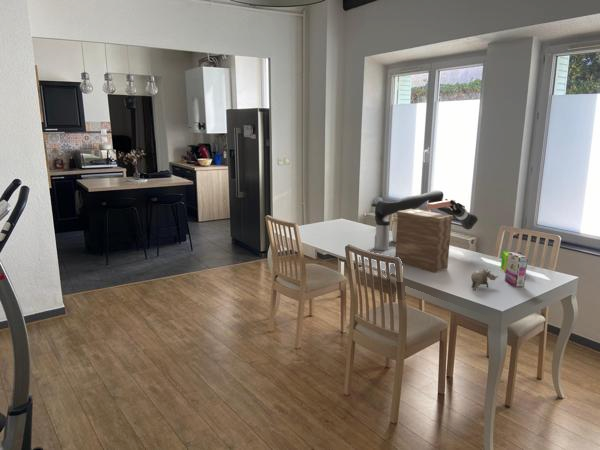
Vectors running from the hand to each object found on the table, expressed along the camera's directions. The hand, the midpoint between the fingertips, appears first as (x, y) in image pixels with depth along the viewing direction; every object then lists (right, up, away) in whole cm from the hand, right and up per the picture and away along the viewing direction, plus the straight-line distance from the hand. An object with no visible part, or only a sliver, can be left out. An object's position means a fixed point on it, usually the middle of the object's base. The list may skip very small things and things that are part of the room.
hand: (448, 200), depth 268 cm
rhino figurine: (+5, -48, -36) cm, 60 cm away
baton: (-6, -4, -4) cm, 8 cm away
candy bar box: (+25, -47, -31) cm, 61 cm away
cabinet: (-17, -39, +1) cm, 43 cm away
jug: (-15, -27, +58) cm, 66 cm away
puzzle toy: (+35, -42, -7) cm, 55 cm away
